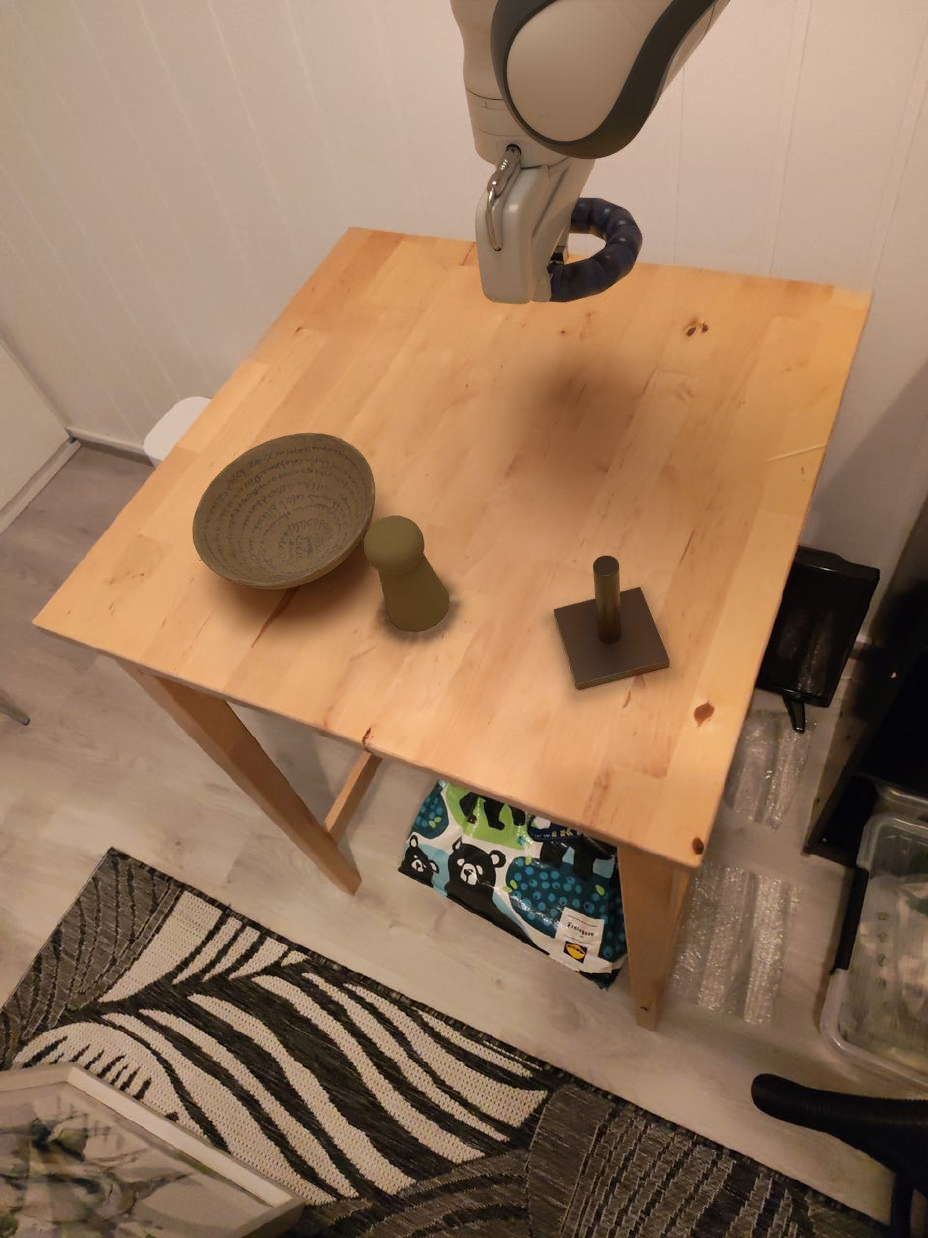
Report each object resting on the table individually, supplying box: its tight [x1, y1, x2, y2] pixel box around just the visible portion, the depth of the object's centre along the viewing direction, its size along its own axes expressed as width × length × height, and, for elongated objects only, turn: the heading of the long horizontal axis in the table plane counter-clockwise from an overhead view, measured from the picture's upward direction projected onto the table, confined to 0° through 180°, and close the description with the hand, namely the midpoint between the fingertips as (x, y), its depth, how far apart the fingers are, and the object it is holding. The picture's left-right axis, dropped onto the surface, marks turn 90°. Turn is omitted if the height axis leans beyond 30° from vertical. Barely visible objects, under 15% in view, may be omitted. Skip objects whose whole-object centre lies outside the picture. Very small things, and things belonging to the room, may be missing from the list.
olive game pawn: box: [363, 515, 450, 633], centre depth 72 cm, size 6×6×11 cm
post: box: [553, 555, 671, 691], centre depth 66 cm, size 8×8×11 cm
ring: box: [547, 196, 644, 304], centre depth 72 cm, size 13×13×3 cm
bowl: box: [191, 432, 376, 590], centre depth 79 cm, size 18×18×8 cm
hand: (550, 280), depth 69 cm, fingers closed on ring, 3 cm apart
